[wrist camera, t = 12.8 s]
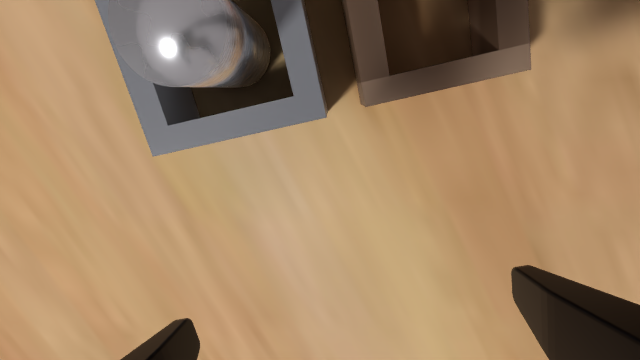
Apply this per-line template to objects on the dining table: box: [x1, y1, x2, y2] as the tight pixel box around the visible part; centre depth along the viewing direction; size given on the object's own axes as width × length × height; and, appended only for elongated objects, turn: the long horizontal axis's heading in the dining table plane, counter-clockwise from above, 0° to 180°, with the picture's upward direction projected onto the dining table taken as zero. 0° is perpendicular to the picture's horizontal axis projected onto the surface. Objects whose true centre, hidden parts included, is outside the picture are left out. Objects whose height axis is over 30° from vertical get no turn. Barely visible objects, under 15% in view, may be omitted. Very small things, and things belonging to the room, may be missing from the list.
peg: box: [108, 0, 271, 88], centre depth 15 cm, size 4×4×8 cm
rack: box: [95, 0, 328, 156], centre depth 16 cm, size 9×12×4 cm
